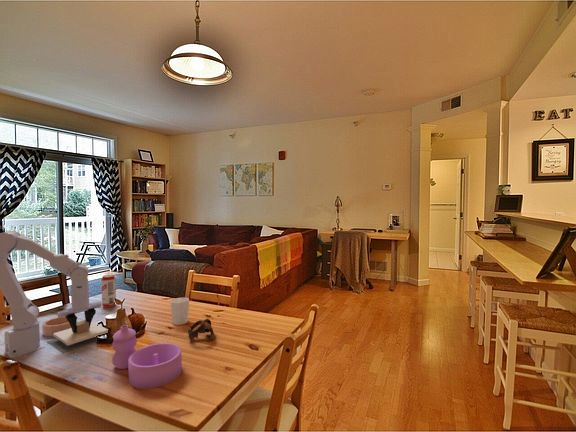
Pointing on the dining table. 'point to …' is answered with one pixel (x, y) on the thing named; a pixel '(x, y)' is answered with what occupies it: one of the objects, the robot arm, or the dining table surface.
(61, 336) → the lid
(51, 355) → the dining table surface
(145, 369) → the container set
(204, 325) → the dark brown arched piece
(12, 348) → the robot arm
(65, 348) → the mat
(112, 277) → the beer can
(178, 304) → the white cup
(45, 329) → the bowl
